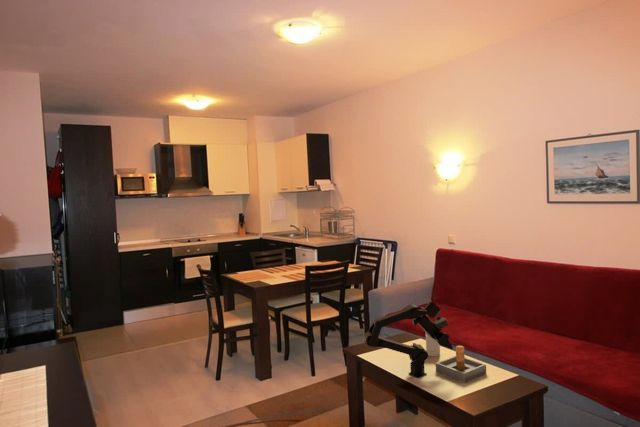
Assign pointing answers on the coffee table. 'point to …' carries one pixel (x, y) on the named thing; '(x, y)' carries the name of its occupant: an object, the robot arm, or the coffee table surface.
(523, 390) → the coffee table surface
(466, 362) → the socket box
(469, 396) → the coffee table surface
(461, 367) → the orange peg
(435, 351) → the supplement box
